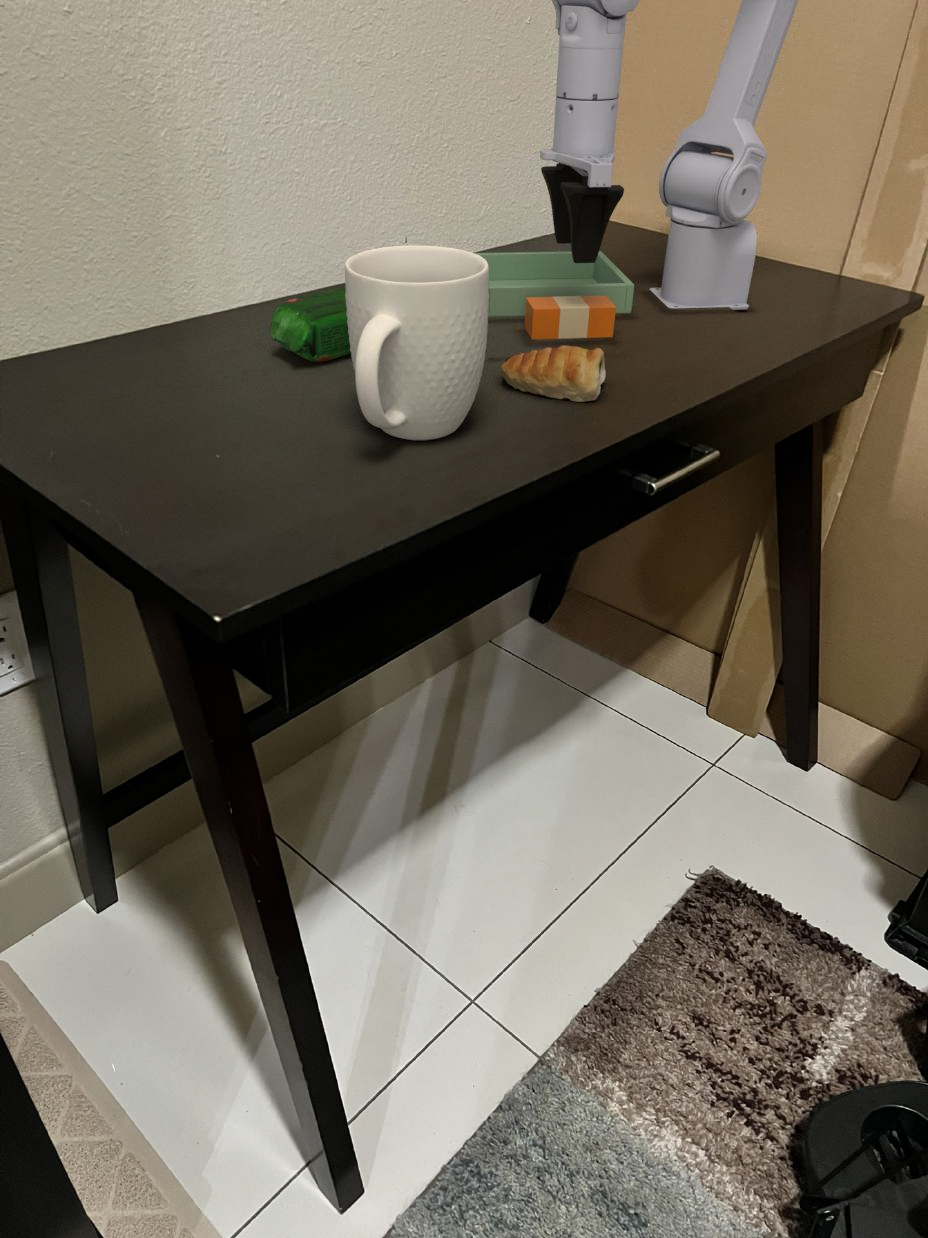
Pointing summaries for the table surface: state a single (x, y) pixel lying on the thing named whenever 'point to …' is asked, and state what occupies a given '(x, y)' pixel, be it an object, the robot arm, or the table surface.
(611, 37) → the robot arm
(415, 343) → the mug
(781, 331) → the table surface
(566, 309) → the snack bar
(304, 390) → the table surface
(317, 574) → the table surface
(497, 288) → the tub
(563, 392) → the pastry
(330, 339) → the snack package
